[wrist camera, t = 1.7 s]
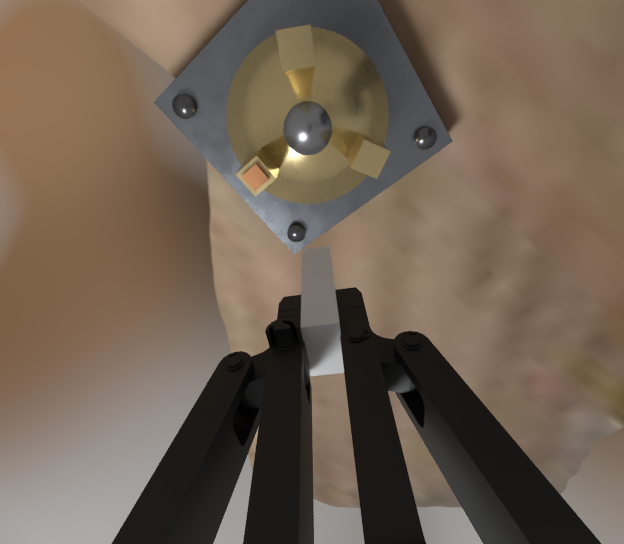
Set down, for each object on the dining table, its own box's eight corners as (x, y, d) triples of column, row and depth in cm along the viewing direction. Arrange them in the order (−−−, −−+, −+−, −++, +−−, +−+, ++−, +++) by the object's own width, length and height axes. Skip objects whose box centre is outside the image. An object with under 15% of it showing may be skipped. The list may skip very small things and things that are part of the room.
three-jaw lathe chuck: (322, -15, 26) (325, -38, 20) (410, 136, 32) (432, 149, 26) (200, 108, 30) (176, 116, 25) (297, 221, 36) (295, 248, 30)
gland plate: (328, -79, 26) (330, -93, 23) (445, 137, 34) (454, 142, 32) (162, 100, 32) (151, 102, 30) (294, 246, 40) (293, 256, 38)
